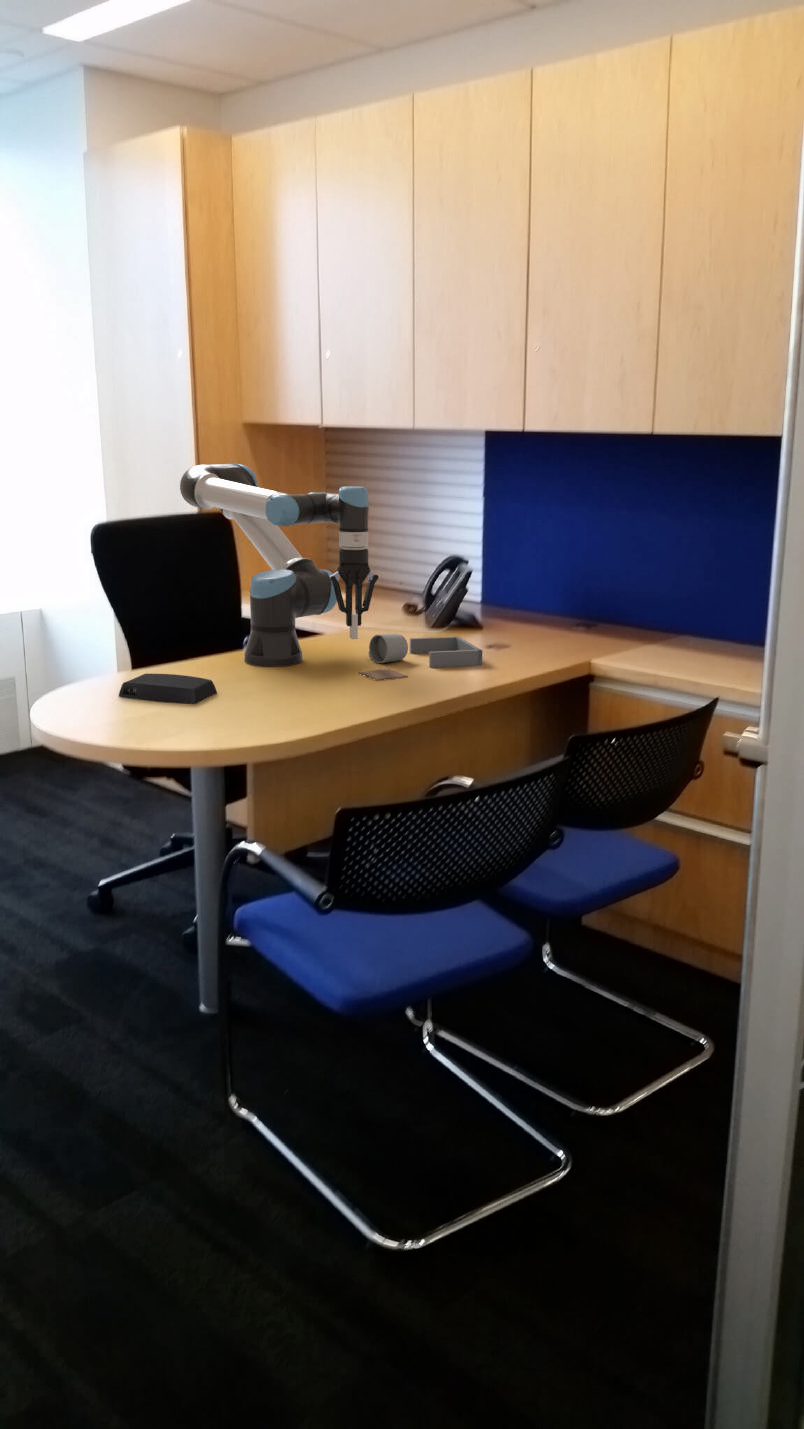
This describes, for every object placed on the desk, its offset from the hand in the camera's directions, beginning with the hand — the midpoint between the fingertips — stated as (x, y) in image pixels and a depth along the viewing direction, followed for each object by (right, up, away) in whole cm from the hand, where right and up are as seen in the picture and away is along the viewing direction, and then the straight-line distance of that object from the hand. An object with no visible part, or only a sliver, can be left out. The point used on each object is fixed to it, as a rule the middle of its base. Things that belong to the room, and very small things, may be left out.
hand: (353, 638), depth 300 cm
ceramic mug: (+8, -6, +5) cm, 11 cm away
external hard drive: (-41, -16, -35) cm, 57 cm away
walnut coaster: (+8, -11, -12) cm, 18 cm away
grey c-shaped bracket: (+24, -5, +9) cm, 26 cm away
